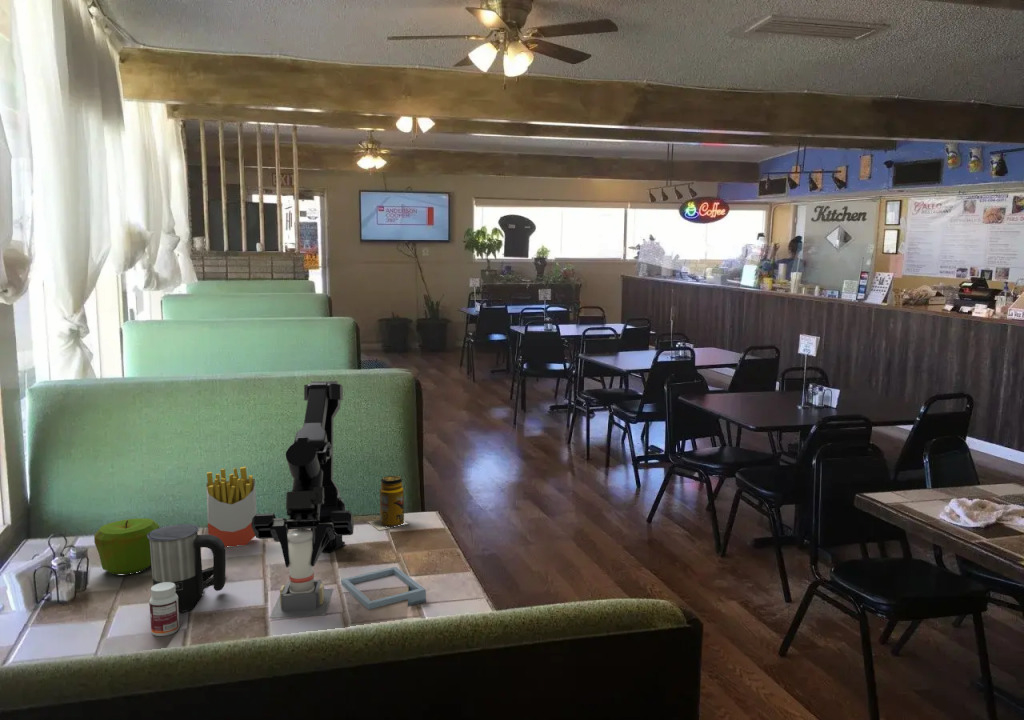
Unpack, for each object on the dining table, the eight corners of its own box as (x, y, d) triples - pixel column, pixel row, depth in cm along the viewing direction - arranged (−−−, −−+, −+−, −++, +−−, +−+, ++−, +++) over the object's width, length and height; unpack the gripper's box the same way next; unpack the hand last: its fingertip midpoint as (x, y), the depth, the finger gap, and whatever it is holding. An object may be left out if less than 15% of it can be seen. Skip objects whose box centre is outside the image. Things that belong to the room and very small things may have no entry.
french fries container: (258, 544, 183) (254, 470, 181) (209, 549, 180) (205, 474, 178) (257, 537, 188) (254, 465, 185) (209, 543, 184) (205, 469, 182)
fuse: (292, 589, 149) (289, 529, 148) (316, 588, 150) (314, 528, 148) (287, 599, 145) (285, 537, 143) (312, 598, 145) (310, 536, 144)
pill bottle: (156, 625, 142) (154, 581, 141) (183, 624, 142) (181, 580, 141) (147, 637, 137) (144, 592, 136) (174, 636, 137) (171, 591, 136)
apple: (156, 555, 177) (153, 507, 175) (165, 572, 166) (162, 521, 165) (94, 567, 170) (90, 517, 168) (100, 585, 160) (96, 532, 158)
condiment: (410, 524, 197) (409, 478, 195) (379, 530, 192) (378, 484, 191) (398, 517, 203) (397, 472, 202) (367, 523, 198) (366, 477, 197)
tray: (341, 591, 156) (341, 579, 156) (395, 577, 163) (395, 566, 162) (368, 616, 144) (368, 604, 144) (425, 601, 151) (425, 589, 151)
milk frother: (152, 619, 144) (147, 542, 142) (149, 588, 158) (145, 518, 156) (232, 603, 151) (229, 530, 149) (223, 575, 165) (219, 508, 163)
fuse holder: (282, 598, 153) (281, 575, 152) (333, 595, 154) (332, 573, 153) (269, 625, 141) (268, 601, 140) (325, 622, 142) (324, 598, 141)
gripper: (251, 473, 147) (239, 550, 138) (350, 470, 149) (346, 545, 140) (261, 501, 156) (251, 574, 146) (355, 497, 158) (351, 570, 148)
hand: (299, 566), depth 145 cm, fingers closed on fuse, 4 cm apart
